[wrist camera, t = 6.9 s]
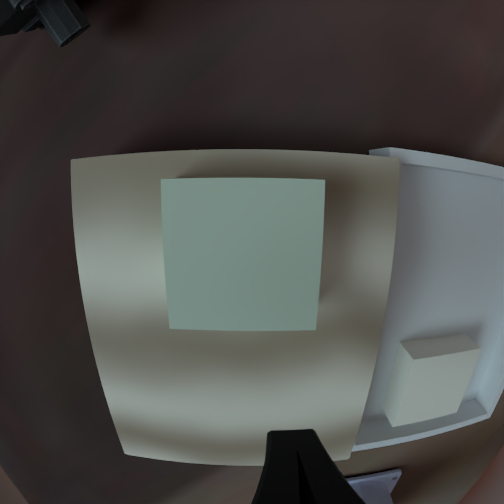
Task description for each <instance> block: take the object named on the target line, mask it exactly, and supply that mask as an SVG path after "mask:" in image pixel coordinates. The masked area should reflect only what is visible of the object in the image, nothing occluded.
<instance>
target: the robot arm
mask: <svg viewBox="0 0 504 504" xmlns="http://www.w3.org/2000/svg"><path fill="white" fill-rule="evenodd" d="M401 474H402V471H401V469H395V470H390V471H385V472H380V473H375V474H370V475H364V476H358V477H352V478H345V477H344V476H343V475H342V473H341V472H340V471H339V469H338V468H337V466H336V465H335V463H334V462H333V460H332V459H331V457H330V456H329V454H328V453H327V451H326V449H325V448H324V446H323V444H322V442H321V441H320V439H319V437H318V435H317V433H316V431H315V430H313V429H299V430H271V431H269V432H268V433H267V440H266V453H265V462H264V467H263V471H262V474H261V477H260V481H259V484H258V487H257V490H256V493H255V496H254V498H253V501H252V503H251V504H393V501H392V498H391V496H390V494H391V492H392V490H393V488H394V487H395V485H396V483H397V481H398V479H399V478H400V476H401Z"/></svg>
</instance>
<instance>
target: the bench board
mask: <svg viewBox="0 0 504 504" xmlns="http://www.w3.org/2000/svg"><path fill="white" fill-rule="evenodd" d="M399 166H400V158H391V157H382V156H372V155H361V154H349V153H335V152H319V151H299V150H267V149H213V150H180V151H160V152H145V153H131V154H119V155H109V156H99V157H90V158H81V159H73V160H71V191H72V210H73V224H74V235H75V245H76V254H77V263H78V270H79V277H80V284H81V291H82V297H83V302H84V308H85V314H86V319H87V324H88V329H89V333H90V338H91V343H92V347H93V351H94V355H95V360H96V364H97V368H98V371H99V375H100V379H101V382H102V386H103V390H104V393H105V396H106V400H107V403H108V406H109V409H110V413H111V416H112V419H113V422H114V425H115V428H116V431H117V433H118V436H119V439H120V442H121V445H122V447H123V450H124V453H125V454H128V455H133V456H139V457H146V458H153V459H160V460H168V461H177V462H187V463H198V464H214V465H244V466H261V465H264V462H265V453H266V440H267V433H268V432H269V431H271V430H299V429H313V430H315V431H316V433H317V435H318V437H319V439H320V441H321V442H322V444H323V446H324V448H325V449H326V451H327V453H328V454H329V456H330V457H331V459H332V460H333V461H337V460H345V459H349V458H350V455H351V451H352V448H353V445H354V442H355V439H356V436H357V432H358V429H359V426H360V422H361V419H362V415H363V412H364V408H365V404H366V400H367V397H368V393H369V389H370V385H371V381H372V376H373V372H374V368H375V363H376V359H377V354H378V349H379V344H380V339H381V334H382V329H383V323H384V318H385V312H386V306H387V299H388V293H389V286H390V279H391V271H392V263H393V254H394V245H395V235H396V223H397V210H398V193H399ZM182 177H290V178H315V179H323V180H325V202H324V226H323V245H322V261H321V275H320V288H319V300H318V312H317V323H316V330H301V331H221V330H188V329H170V328H169V318H168V307H167V296H166V284H165V270H164V255H163V236H162V212H161V179H167V178H182Z"/></svg>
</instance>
